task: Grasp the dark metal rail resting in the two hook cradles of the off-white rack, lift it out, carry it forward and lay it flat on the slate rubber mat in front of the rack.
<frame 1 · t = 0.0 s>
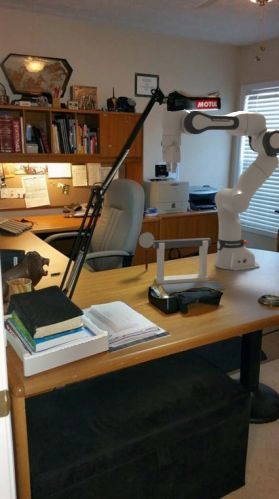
hand: (171, 172, 191), 48 cm above the table, tool pointing down, fingers open, 8 cm apart
mat: (193, 287, 175), on the table
rack: (181, 280, 186), on the table
rail: (182, 246, 182), point 16 cm above the table, touching rack
magnifying glass: (146, 271, 201), on the table
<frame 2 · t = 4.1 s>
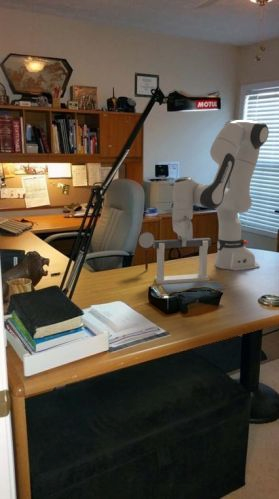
hand: (182, 245, 182), 17 cm above the table, tool pointing down, fingers closed on rail, 3 cm apart
rail: (182, 246, 182), point 16 cm above the table, touching gripper, rack
everything else where it was.
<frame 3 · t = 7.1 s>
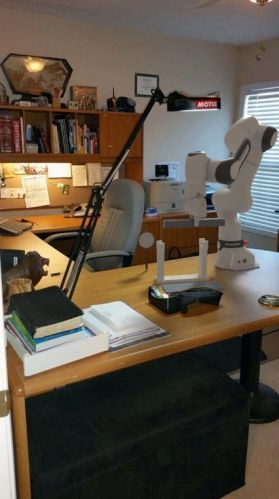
hand: (194, 225, 169), 28 cm above the table, tool pointing down, fingers closed on rail, 3 cm apart
rail: (194, 226, 169), point 27 cm above the table, touching gripper
everything else where it was.
when the fingers open (3 cm above the table, at t = 10.3 s): rail drops 1 cm, resting on mat.
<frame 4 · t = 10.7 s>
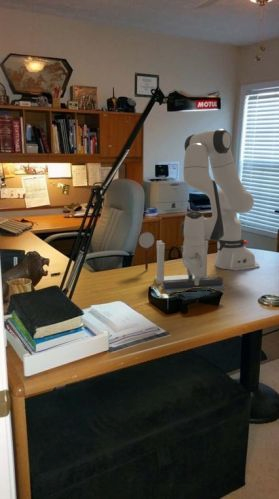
hand: (193, 281, 175), 3 cm above the table, tool pointing down, fingers open, 7 cm apart
rail: (192, 286, 175), point 1 cm above the table, touching mat
everything else where it was.
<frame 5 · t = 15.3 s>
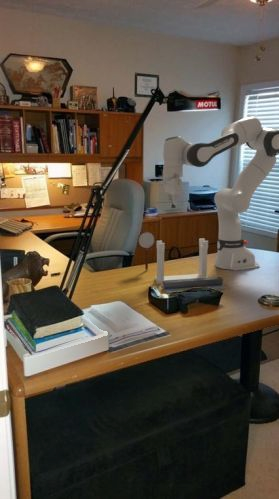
hand: (172, 203, 187), 34 cm above the table, tool pointing down, fingers open, 8 cm apart
nothing on the table moved.
at the end: rail inside the target area on the mat (0.1 cm from its centre), point 0.6 cm above the mat's base; rail tilted 0°; the gripper is holding nothing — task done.
